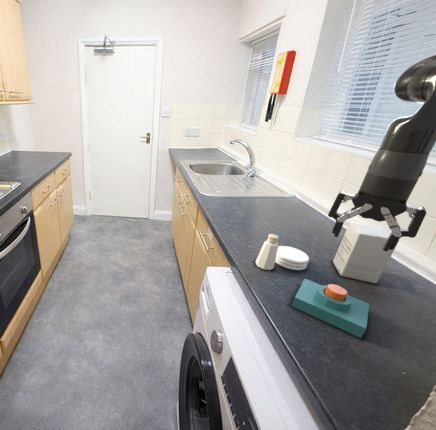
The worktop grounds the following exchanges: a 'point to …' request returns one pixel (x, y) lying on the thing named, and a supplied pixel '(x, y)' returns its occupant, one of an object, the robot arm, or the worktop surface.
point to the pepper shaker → (268, 253)
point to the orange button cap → (335, 292)
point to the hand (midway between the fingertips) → (359, 242)
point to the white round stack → (291, 258)
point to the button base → (332, 308)
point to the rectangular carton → (363, 252)
